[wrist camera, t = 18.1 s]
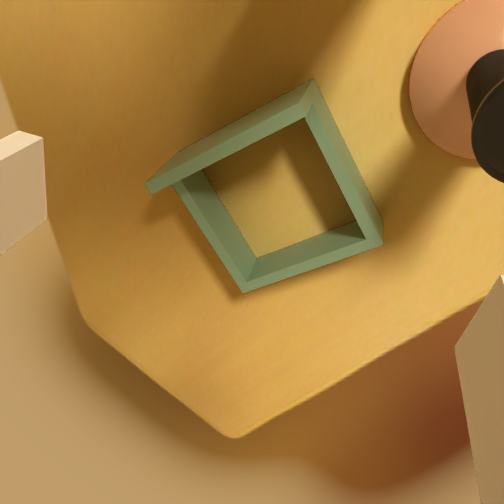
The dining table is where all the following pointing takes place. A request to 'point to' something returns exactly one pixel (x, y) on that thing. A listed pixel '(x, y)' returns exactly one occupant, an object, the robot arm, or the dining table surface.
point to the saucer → (453, 71)
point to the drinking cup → (488, 112)
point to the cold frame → (220, 222)
